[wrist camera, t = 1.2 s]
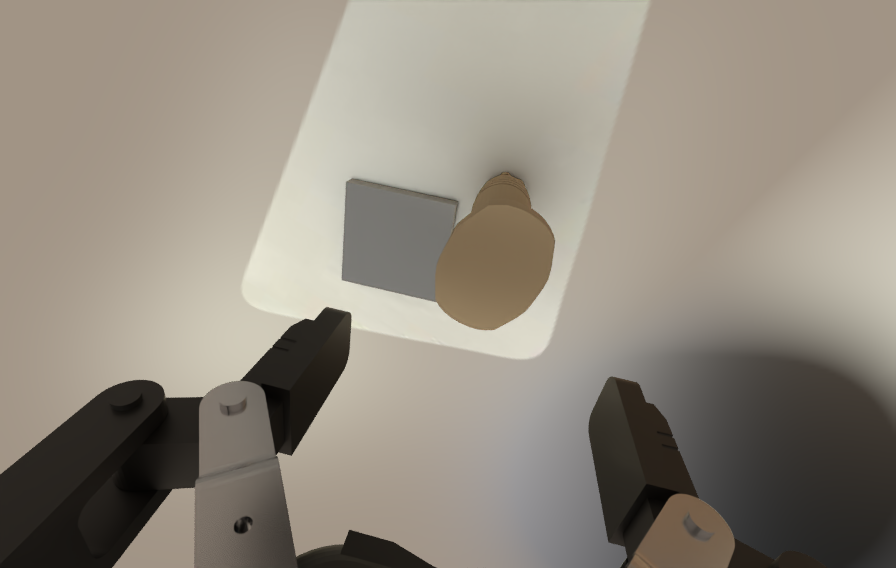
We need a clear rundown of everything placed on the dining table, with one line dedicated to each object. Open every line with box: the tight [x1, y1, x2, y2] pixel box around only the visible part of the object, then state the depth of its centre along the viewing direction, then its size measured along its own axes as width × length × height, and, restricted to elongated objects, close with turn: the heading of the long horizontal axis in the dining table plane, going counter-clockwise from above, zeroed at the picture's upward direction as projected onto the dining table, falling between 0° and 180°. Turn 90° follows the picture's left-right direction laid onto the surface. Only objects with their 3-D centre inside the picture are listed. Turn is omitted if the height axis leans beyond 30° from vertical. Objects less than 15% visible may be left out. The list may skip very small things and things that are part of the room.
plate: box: [342, 179, 458, 302], centre depth 34 cm, size 9×9×1 cm
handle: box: [435, 172, 555, 330], centre depth 25 cm, size 5×6×15 cm
